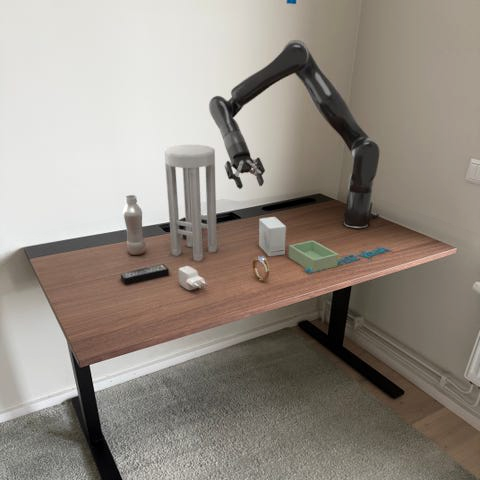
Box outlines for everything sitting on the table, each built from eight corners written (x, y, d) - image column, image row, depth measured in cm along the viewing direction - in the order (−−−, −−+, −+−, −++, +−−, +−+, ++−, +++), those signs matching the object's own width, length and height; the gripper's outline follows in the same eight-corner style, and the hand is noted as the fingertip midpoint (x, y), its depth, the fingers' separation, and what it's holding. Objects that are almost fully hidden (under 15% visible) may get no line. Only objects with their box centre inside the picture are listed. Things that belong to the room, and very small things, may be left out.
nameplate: (392, 252, 169) (381, 247, 172) (392, 250, 168) (382, 245, 172) (310, 275, 152) (301, 269, 156) (311, 273, 152) (301, 267, 155)
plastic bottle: (150, 251, 168) (144, 195, 158) (139, 258, 163) (132, 200, 153) (135, 248, 170) (128, 192, 160) (123, 255, 165) (116, 198, 155)
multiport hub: (120, 279, 149) (120, 273, 147) (164, 270, 155) (163, 263, 154) (125, 285, 145) (124, 278, 144) (169, 275, 151) (168, 268, 150)
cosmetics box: (257, 245, 173) (258, 218, 168) (274, 243, 175) (275, 216, 169) (268, 256, 164) (269, 227, 159) (285, 254, 166) (287, 225, 161)
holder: (312, 251, 169) (313, 240, 167) (337, 266, 158) (339, 254, 156) (288, 257, 164) (288, 245, 162) (312, 272, 154) (313, 260, 152)
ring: (270, 283, 147) (271, 259, 143) (262, 285, 145) (262, 261, 141) (258, 275, 152) (259, 251, 148) (250, 277, 151) (250, 253, 146)
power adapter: (211, 294, 141) (210, 276, 138) (197, 299, 138) (197, 280, 135) (190, 281, 148) (189, 263, 145) (177, 285, 145) (175, 268, 142)
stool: (189, 241, 176) (184, 142, 158) (224, 249, 170) (223, 147, 152) (163, 255, 165) (154, 150, 147) (200, 264, 158) (196, 156, 140)
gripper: (222, 142, 167) (237, 183, 165) (257, 139, 173) (272, 178, 171) (215, 155, 174) (230, 194, 171) (249, 151, 180) (264, 189, 177)
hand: (251, 186), depth 171 cm, fingers open, 8 cm apart
